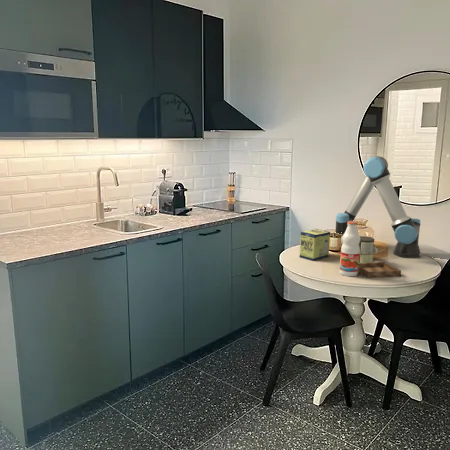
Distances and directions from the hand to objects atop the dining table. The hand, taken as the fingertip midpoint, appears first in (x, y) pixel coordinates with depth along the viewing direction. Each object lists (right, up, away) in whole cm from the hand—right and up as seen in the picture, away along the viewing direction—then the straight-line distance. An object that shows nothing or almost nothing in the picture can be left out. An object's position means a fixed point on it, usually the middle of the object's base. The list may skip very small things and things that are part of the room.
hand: (368, 251), depth 252 cm
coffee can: (-1, -7, +6) cm, 9 cm away
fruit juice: (-15, -11, -13) cm, 23 cm away
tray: (+1, -11, -10) cm, 14 cm away
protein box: (-27, -5, +18) cm, 32 cm away
